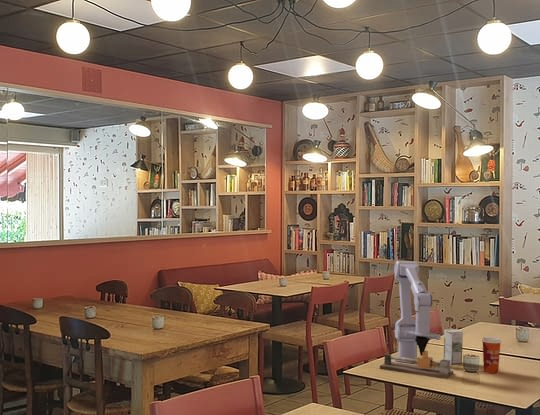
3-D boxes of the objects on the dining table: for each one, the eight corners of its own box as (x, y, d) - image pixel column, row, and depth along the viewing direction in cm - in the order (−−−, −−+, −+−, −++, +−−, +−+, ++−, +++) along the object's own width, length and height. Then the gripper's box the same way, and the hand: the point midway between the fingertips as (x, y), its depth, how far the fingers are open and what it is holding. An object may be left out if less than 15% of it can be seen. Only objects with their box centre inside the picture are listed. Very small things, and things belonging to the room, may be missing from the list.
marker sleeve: (420, 365, 270) (421, 349, 270) (432, 366, 267) (432, 351, 267) (417, 366, 267) (417, 351, 267) (429, 368, 264) (429, 353, 264)
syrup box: (454, 360, 290) (454, 328, 290) (462, 363, 284) (463, 330, 284) (443, 361, 288) (443, 328, 288) (451, 364, 282) (452, 331, 282)
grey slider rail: (388, 364, 280) (388, 350, 281) (453, 373, 266) (453, 359, 266) (379, 368, 272) (380, 354, 272) (446, 378, 257) (446, 363, 257)
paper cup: (488, 374, 266) (489, 340, 266) (477, 370, 273) (478, 336, 273) (504, 373, 268) (505, 339, 268) (493, 369, 275) (494, 336, 275)
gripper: (402, 321, 268) (401, 354, 268) (437, 325, 260) (436, 359, 260) (408, 319, 274) (407, 351, 274) (442, 323, 266) (441, 356, 266)
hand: (422, 355), depth 268 cm, fingers closed
